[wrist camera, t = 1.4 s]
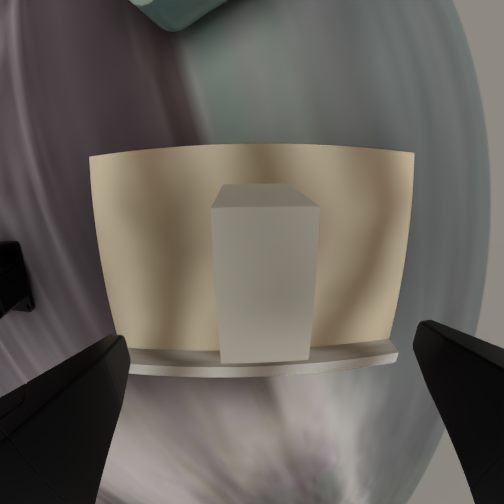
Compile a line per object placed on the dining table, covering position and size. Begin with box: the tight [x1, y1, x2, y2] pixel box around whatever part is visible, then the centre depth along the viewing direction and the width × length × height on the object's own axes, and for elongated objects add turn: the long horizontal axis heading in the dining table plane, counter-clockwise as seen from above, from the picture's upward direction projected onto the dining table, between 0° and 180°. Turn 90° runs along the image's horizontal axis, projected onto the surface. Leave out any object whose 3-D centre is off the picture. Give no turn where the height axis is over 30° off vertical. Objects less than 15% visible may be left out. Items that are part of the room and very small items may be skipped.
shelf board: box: [89, 143, 414, 377], centre depth 20 cm, size 22×16×3 cm
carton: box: [211, 183, 320, 363], centre depth 16 cm, size 4×7×8 cm, turn 1°
